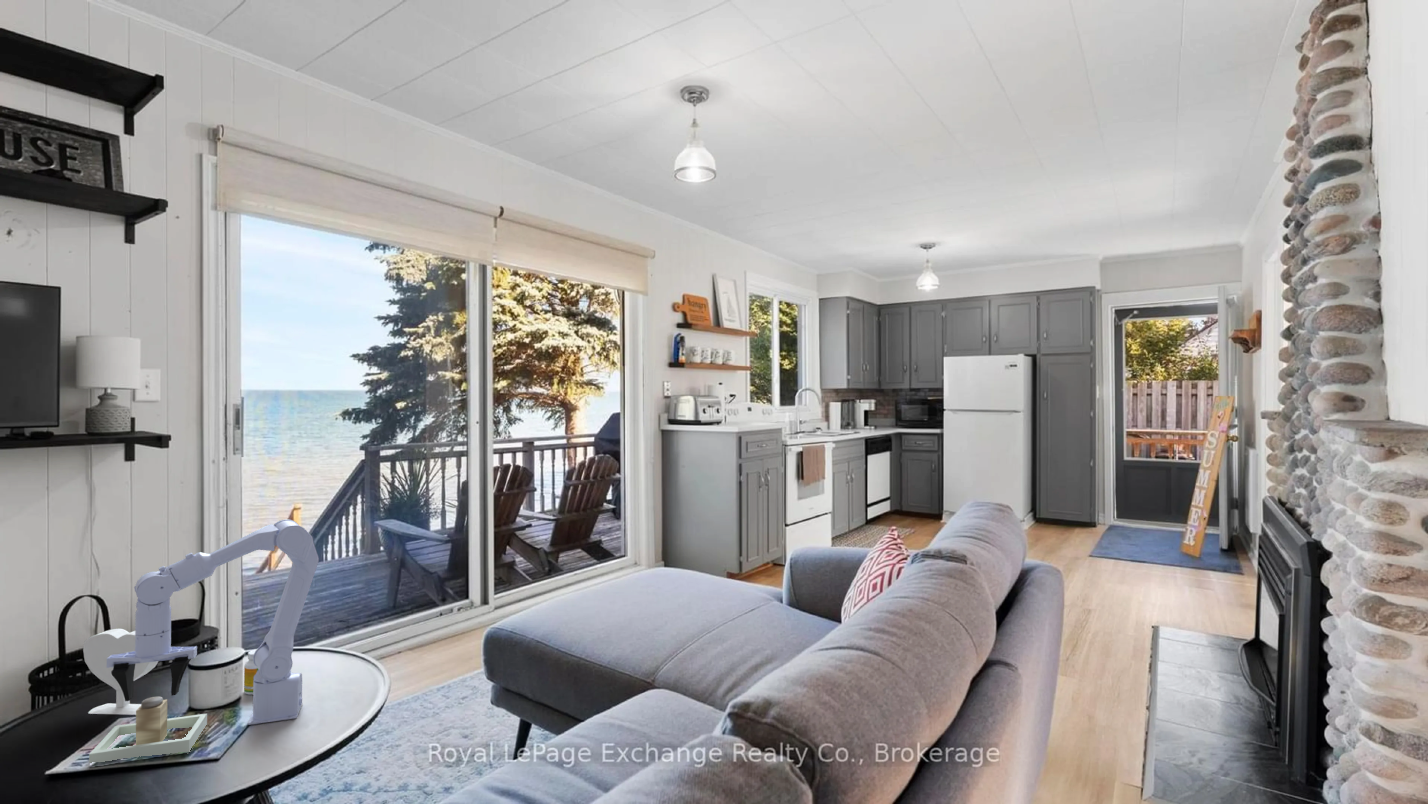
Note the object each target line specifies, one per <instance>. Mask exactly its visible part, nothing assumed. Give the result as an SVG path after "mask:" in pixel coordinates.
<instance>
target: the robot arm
mask: <svg viewBox="0 0 1428 804" xmlns="http://www.w3.org/2000/svg"><path fill="white" fill-rule="evenodd" d="M275 546H276V547H277V548H278V549H279V551H281V552H282V553H285V555H286V556H287V557H288V558H289V560H290V561H291V563H292V564H291V568H290V570H289V573H288V576H287V580H286V582H285V585H284V588H283V591H282V594H281V596H280V600H279V602H278V606H277V609H276V612H275V615H274V617H273V619H272V623H271V625H270V629H269V631H268V633H267V634H266V635H265V636H264V638H263V641H262V643H261V644H260V646H258V647H257V650H256V651H255V653H254V656H253V661H254V664H255V665H256V666H257V668H258V671H257V673H256V674H255V676H254V680H253V696H252V712H251V713H252V714H253V715H252V714H251V715H250V716H249V719H248V721H247V722H246V724H247V725H248V726H250V725H257V724H259V725H260V724H265V723H271V722H278V721H286V720H291V719H292V720H293V719H297V718H298V716H299V713H300V710H301V708H302V705H303V674H302V672H292V668H293V658H292V655H293V651H294V636H295V634H296V631H297V628H298V627H297V626H298V625H299V621H300V619H301V615H302V612H303V610H304V606H305V602H306V600H307V598H308V594H309V592H310V588H311V584H313V583H312V582H313V579H314V576H315V574H316V570H317V568H318V564H319V560H320V559H319V555H318V552H317V549H316V546H315V543H314V537H313V536H312V534H310V533H309V531H308V530H307V529H305V528H304V527H303V526H302V525H299V524H298V523H297V521H295V520H292V519H282V520H279V521H277V522H275V523H274V524H273V523H270V524H268V525H265V526H263V527H260V528H258V529H257V530H255V531H253V532H251V533H248V534H247V535H244V536H242V537H240V538H238V539H236V540H235V541H232V542H231V543H228V544H226V545H224V546H222V547H220V548H218V549H217V550H214V551H212V552H210V553H206V552H201V551H200V552H199V551H198V552H196V553H195V554H193V552H189V553H187V554H185V558H183V559H181V560H178V561H176V562H174V563H171V564H169V565H167V566H165V565H162V566H160V567H158V570H157V571H150V572H146V573H144V574H143V575H141V577H139V579H137V581H136V582H135V583H136V584H135V586H134V587H133V588H134V592H135V594H136V598H137V601H136V603H135V604H136V605H135V606H136V611H135V615H134V616H135V622H134V625H135V626H134V631H135V651H133V652H128V653H122V654H116V655H110V656H109V657H108V658H107V668H109V667H114V668H113V670H112V671H111V674H112V676H113V677H114V678H115V679H116V681H117V682H118V683H119V685H120V687H121V689H122V692H123V694H124V698H125V701H130V702H131V700H132V698H133V697H134V693H135V684H134V682H135V681H133V679H134V670H135V664H136V663H146V662H155V661H159V662H162V661H172V662H171V663H170V665H169V669H170V673H171V687H170V688H171V690H170V693H171V696H176V695H178V693H179V691H180V686H181V683H182V679H183V677H184V674H185V672H186V670H187V667H188V665H189V664H190V662H191V661H192V660H191V659H195V658H196V656H198V646H197V645H195V646H172V645H171V644H172V606H171V605H170V604H171V602H170V601H171V597H172V595H173V593H174V592H180V591H182V590H185V589H186V588H188V587H190V586H192V585H195V584H197V583H199V582H201V581H203V580H205V579H207V578H210V577H211V576H213V574H214V572H215V570H216V569H217V568H218V567H219V566H222V565H225V564H226V563H229V562H232V561H235V560H236V559H238V558H241V557H245V556H246V555H248V554H251V553H254V552H256V551H268V552H269V551H270V552H274V551H275Z"/></svg>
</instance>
